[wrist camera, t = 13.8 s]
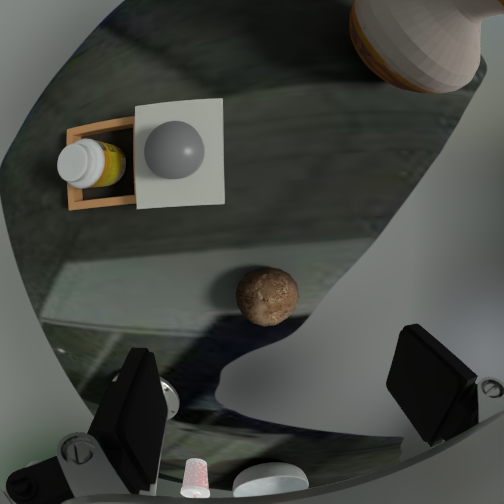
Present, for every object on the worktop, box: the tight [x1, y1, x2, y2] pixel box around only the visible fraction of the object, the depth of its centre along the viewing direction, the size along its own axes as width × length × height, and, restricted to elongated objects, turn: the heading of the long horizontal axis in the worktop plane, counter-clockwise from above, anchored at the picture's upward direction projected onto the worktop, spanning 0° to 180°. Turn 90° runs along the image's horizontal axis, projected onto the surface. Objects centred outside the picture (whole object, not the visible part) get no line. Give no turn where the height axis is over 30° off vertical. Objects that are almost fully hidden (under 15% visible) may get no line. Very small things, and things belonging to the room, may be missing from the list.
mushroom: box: [236, 268, 299, 326], centre depth 37 cm, size 8×8×6 cm
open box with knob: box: [67, 98, 225, 210], centre depth 29 cm, size 12×21×8 cm, turn 91°
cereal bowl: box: [233, 462, 309, 497], centre depth 48 cm, size 17×17×7 cm
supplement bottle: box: [57, 139, 126, 188], centre depth 28 cm, size 6×6×10 cm
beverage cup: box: [180, 458, 210, 498], centre depth 42 cm, size 6×6×14 cm
